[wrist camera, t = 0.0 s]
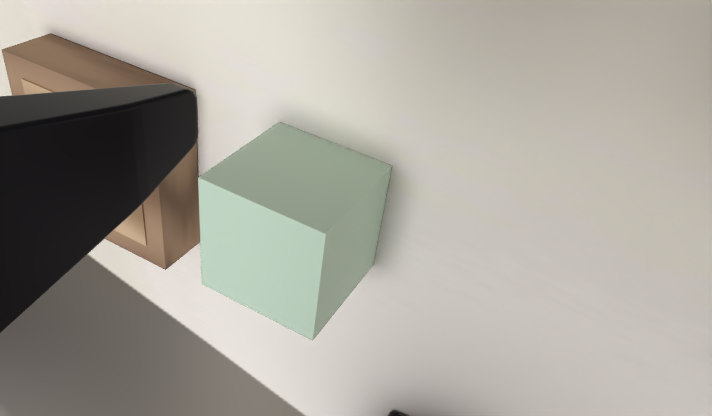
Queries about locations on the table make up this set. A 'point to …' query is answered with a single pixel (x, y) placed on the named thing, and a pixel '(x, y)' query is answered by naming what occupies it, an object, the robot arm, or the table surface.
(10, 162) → the robot arm
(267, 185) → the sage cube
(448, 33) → the table surface
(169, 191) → the walnut base
